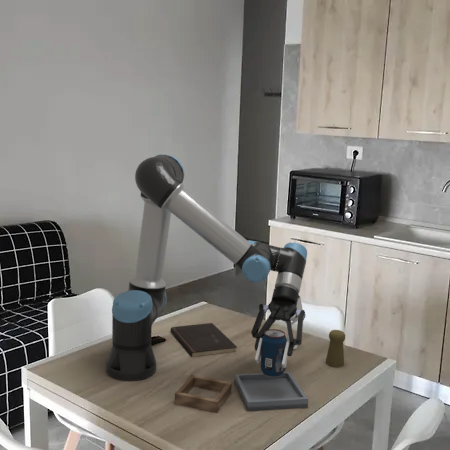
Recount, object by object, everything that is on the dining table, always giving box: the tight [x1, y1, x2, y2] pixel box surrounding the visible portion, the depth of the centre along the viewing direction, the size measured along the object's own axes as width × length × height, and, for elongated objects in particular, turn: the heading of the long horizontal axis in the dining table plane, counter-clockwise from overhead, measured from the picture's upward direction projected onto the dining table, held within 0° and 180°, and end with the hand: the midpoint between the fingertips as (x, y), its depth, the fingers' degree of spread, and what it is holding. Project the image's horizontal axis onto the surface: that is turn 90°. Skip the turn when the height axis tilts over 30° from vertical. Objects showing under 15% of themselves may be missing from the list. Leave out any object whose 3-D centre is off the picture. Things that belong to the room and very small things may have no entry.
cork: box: [324, 329, 346, 368], centre depth 190 cm, size 6×6×11 cm
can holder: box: [174, 374, 233, 414], centre depth 164 cm, size 12×12×3 cm
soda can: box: [260, 328, 288, 377], centre depth 166 cm, size 7×7×12 cm
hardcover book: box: [170, 322, 238, 358], centre depth 204 cm, size 16×23×2 cm
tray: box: [233, 371, 309, 412], centre depth 168 cm, size 17×17×2 cm
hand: (270, 363), depth 163 cm, fingers closed on soda can, 7 cm apart
